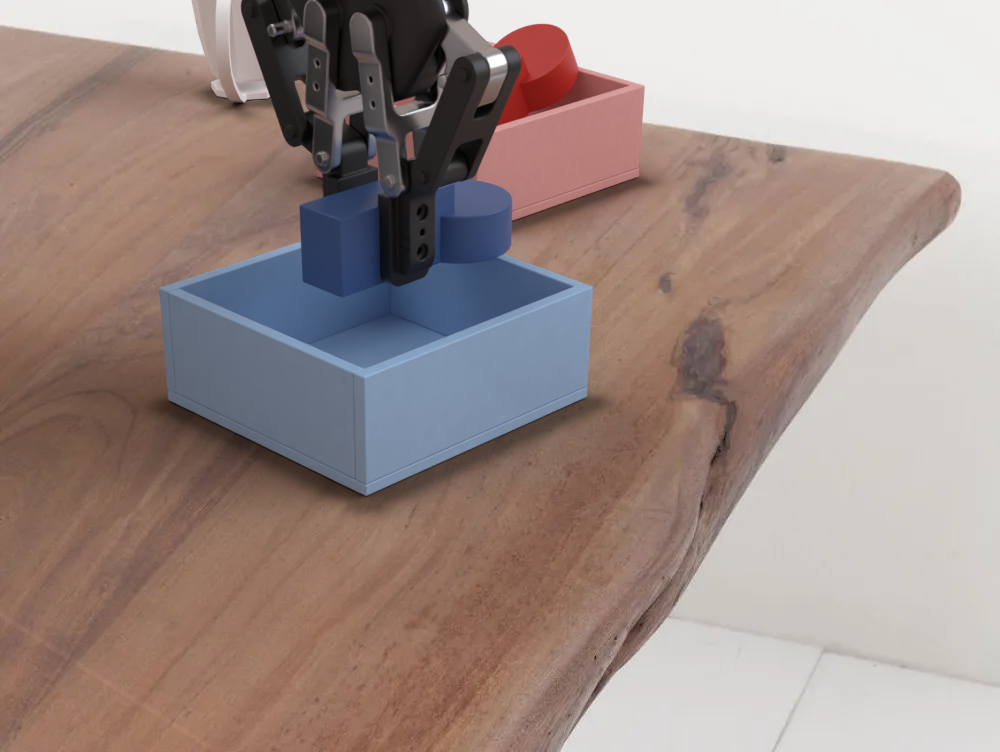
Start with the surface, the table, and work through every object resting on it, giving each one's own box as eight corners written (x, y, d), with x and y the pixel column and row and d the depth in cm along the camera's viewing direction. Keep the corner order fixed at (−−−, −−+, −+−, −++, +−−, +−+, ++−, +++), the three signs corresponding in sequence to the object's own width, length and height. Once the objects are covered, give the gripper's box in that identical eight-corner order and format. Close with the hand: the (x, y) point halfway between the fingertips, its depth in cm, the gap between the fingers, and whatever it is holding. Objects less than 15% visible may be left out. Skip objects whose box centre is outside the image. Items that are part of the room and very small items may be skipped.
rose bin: (315, 176, 104) (313, 83, 101) (480, 126, 112) (482, 39, 109) (475, 234, 97) (477, 136, 94) (639, 176, 105) (645, 85, 102)
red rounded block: (422, 165, 104) (402, 120, 102) (531, 44, 107) (514, -3, 104) (485, 186, 102) (465, 140, 99) (595, 62, 104) (579, 14, 101)
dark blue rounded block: (282, 274, 77) (278, 196, 75) (453, 215, 83) (454, 142, 81) (363, 307, 74) (361, 227, 72) (534, 244, 80) (537, 169, 78)
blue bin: (167, 400, 80) (158, 287, 77) (390, 316, 88) (389, 211, 85) (365, 496, 73) (363, 377, 71) (587, 397, 81) (593, 286, 79)
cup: (311, 76, 119) (307, -60, 115) (285, 124, 111) (279, -20, 106) (201, 70, 120) (192, -65, 115) (168, 119, 111) (156, -26, 107)
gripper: (165, -212, 69) (200, 249, 79) (434, -158, 61) (435, 345, 71) (318, -232, 73) (332, 207, 83) (587, -184, 66) (567, 292, 76)
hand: (380, 268), depth 77 cm, fingers closed on dark blue rounded block, 2 cm apart
